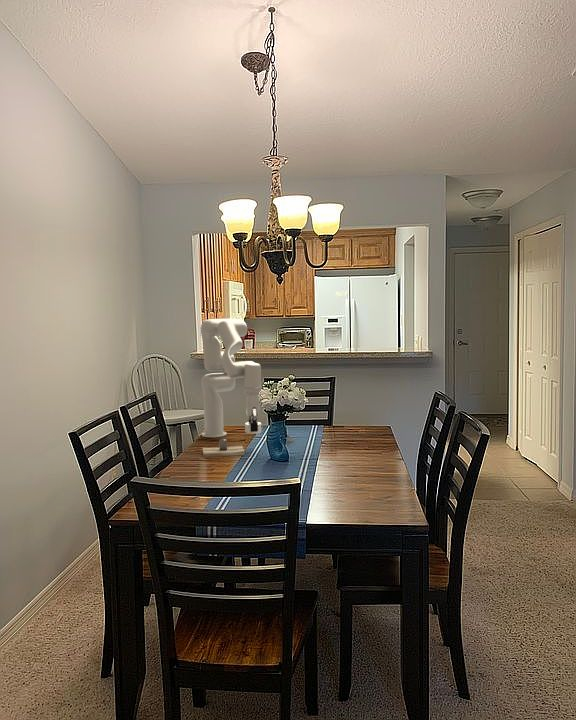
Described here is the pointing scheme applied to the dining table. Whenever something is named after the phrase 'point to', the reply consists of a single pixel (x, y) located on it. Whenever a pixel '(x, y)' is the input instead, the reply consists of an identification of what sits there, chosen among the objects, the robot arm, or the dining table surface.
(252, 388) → the robot arm
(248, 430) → the ring
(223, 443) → the dark domed cylinder
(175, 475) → the dining table surface
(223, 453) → the block
